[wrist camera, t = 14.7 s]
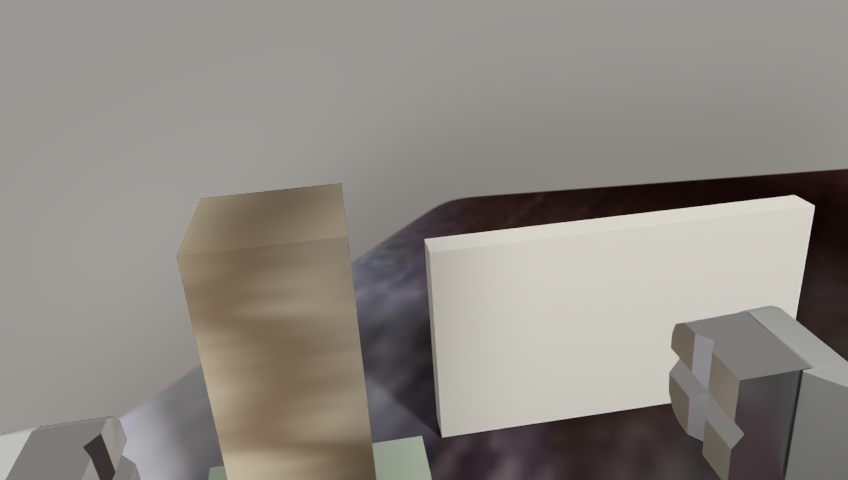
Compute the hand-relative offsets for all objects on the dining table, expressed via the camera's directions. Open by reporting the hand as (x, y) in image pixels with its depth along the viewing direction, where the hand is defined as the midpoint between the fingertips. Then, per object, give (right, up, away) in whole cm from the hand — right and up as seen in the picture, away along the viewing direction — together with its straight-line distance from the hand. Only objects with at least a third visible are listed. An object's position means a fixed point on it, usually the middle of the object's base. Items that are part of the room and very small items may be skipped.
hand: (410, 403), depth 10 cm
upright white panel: (+10, -6, +26) cm, 28 cm away
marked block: (-4, -10, +18) cm, 21 cm away
